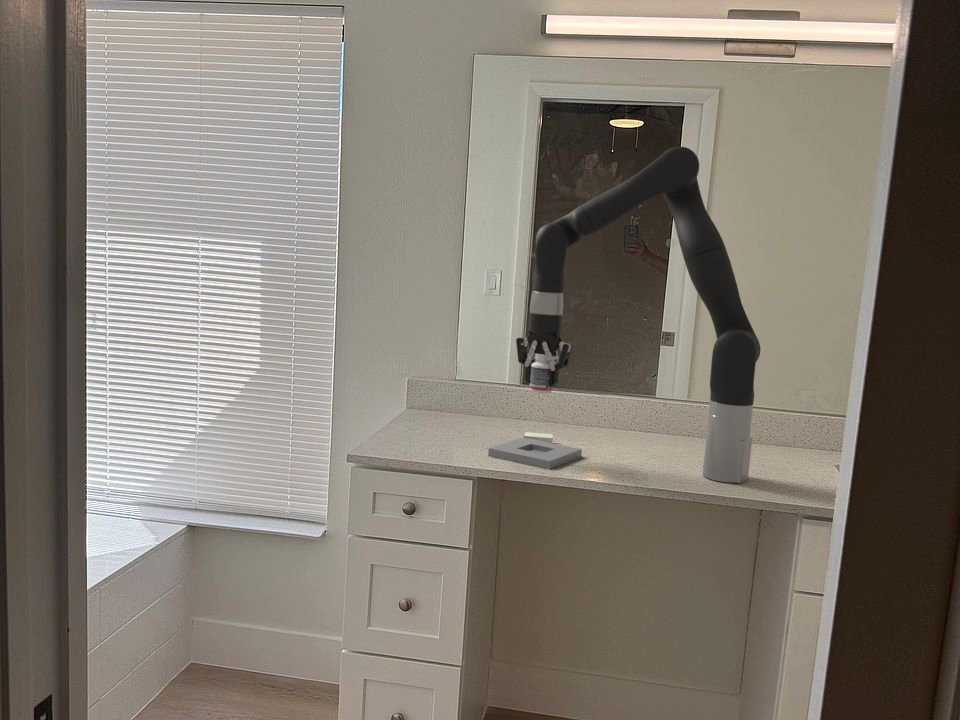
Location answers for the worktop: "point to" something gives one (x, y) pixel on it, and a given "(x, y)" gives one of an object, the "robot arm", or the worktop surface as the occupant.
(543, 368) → the pill bottle
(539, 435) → the soap bar
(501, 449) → the grey square slab
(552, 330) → the robot arm
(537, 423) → the worktop surface
